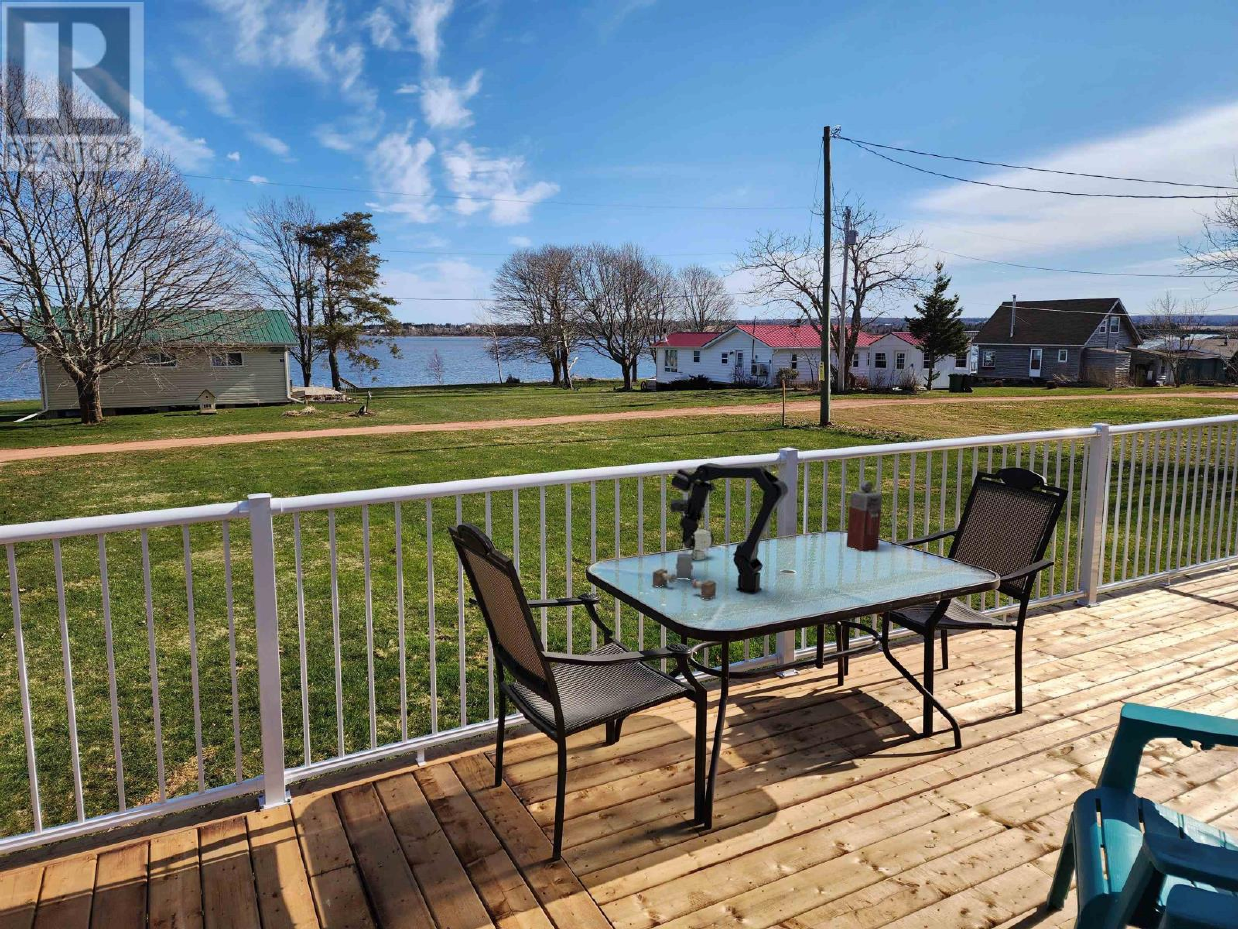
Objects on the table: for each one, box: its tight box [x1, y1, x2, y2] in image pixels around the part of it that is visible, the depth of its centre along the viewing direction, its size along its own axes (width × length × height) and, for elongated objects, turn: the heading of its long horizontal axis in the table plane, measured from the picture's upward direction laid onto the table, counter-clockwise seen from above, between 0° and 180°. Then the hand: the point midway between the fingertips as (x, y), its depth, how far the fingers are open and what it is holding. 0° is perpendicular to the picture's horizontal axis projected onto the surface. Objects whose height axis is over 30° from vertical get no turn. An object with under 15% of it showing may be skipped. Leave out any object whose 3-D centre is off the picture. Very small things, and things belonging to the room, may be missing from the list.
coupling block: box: [675, 553, 694, 580], centre depth 271 cm, size 6×5×8 cm
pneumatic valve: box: [683, 528, 715, 561], centre depth 294 cm, size 6×12×12 cm, turn 122°
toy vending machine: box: [846, 480, 883, 552], centre depth 314 cm, size 9×11×28 cm
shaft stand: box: [652, 568, 717, 600], centre depth 256 cm, size 22×5×5 cm, turn 53°
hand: (685, 538), depth 270 cm, fingers open, 9 cm apart
